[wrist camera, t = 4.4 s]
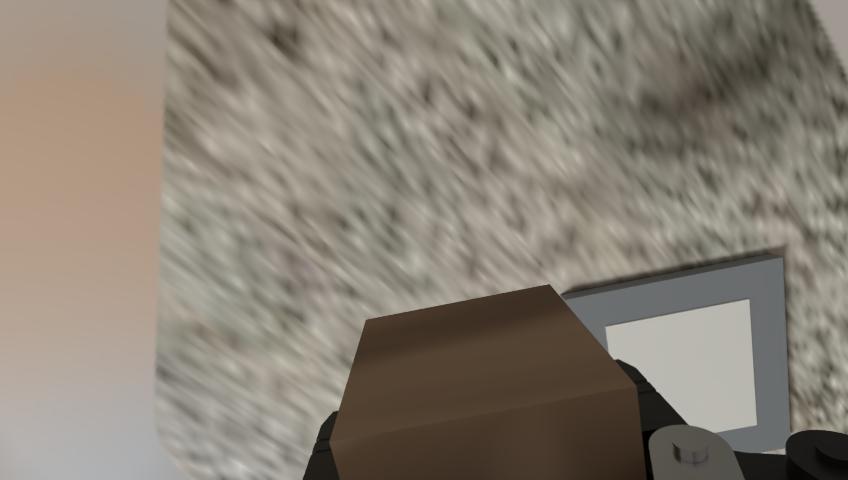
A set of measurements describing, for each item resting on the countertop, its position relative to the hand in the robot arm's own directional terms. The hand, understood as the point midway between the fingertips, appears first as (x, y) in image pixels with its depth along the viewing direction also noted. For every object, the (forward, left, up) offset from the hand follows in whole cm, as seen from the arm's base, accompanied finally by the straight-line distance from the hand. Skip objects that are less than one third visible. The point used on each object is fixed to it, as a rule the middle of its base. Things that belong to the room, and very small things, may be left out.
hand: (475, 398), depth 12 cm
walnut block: (0, 0, -1) cm, 1 cm away
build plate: (+9, +12, -14) cm, 21 cm away
